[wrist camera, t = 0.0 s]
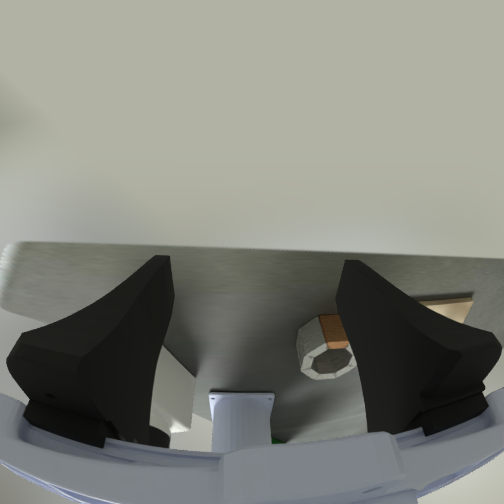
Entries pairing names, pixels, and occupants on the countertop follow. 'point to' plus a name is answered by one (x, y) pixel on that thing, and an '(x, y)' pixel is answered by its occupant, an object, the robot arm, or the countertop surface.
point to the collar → (324, 348)
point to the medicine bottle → (170, 400)
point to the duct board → (451, 307)
